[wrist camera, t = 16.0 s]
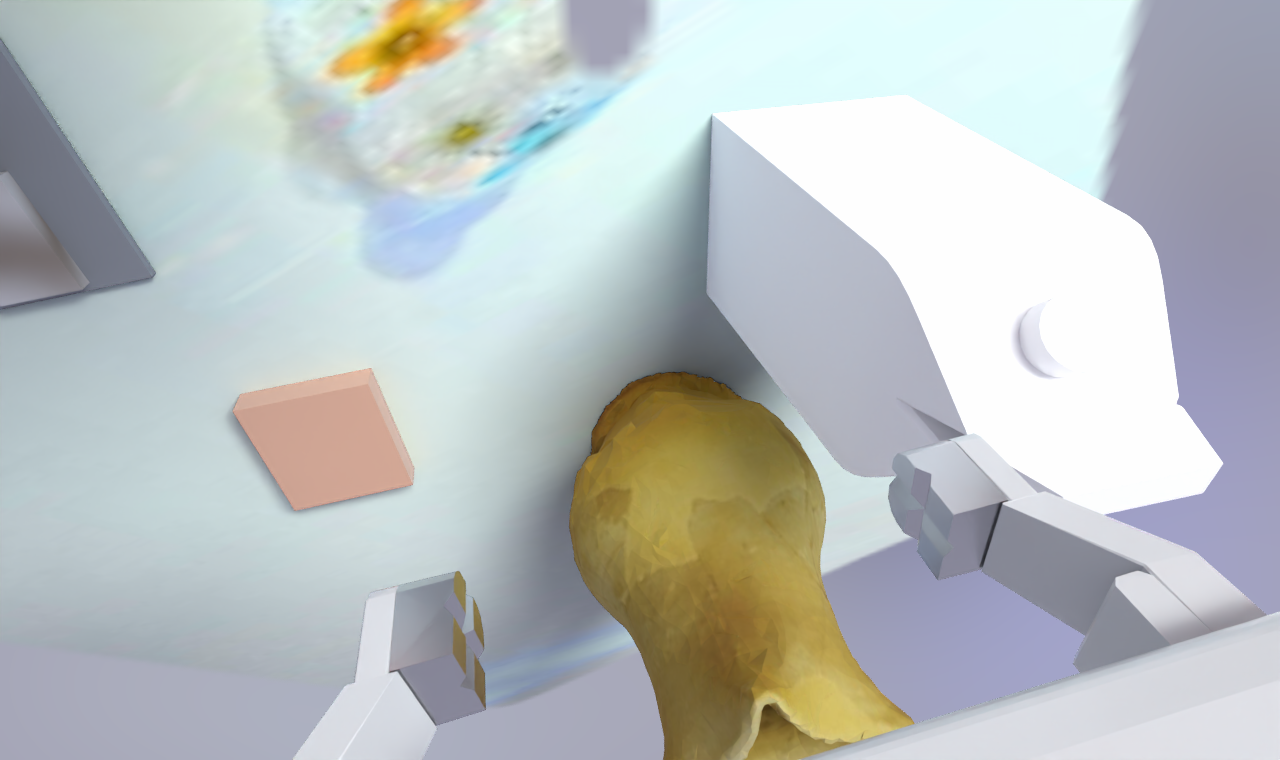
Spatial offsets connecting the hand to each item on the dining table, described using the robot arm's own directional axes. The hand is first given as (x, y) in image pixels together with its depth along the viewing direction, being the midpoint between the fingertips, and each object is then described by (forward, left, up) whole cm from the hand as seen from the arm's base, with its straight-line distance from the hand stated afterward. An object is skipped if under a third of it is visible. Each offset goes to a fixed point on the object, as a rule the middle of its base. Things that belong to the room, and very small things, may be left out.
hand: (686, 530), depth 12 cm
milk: (+8, +15, -29) cm, 34 cm away
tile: (+13, -18, -28) cm, 36 cm away
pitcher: (+26, +4, -29) cm, 39 cm away
